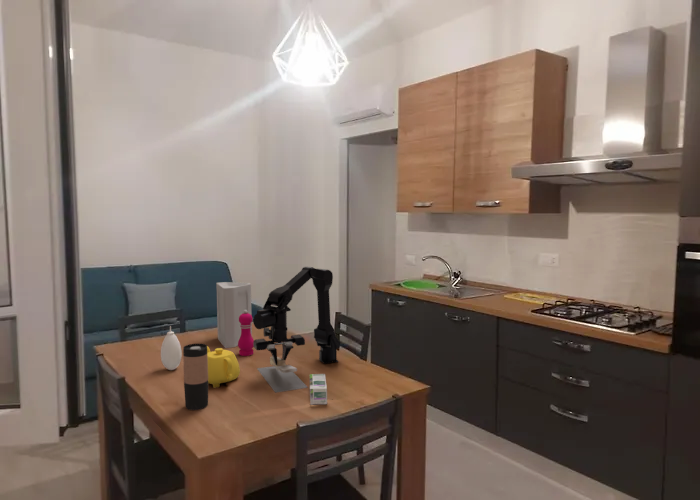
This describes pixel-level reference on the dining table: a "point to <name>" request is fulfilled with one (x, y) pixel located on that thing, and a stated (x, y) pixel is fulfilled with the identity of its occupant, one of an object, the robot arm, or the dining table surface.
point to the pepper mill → (245, 334)
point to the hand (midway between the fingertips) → (279, 364)
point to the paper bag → (231, 310)
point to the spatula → (282, 365)
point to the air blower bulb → (171, 351)
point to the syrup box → (318, 389)
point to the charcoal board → (281, 379)
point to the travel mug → (195, 376)
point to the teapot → (221, 366)
